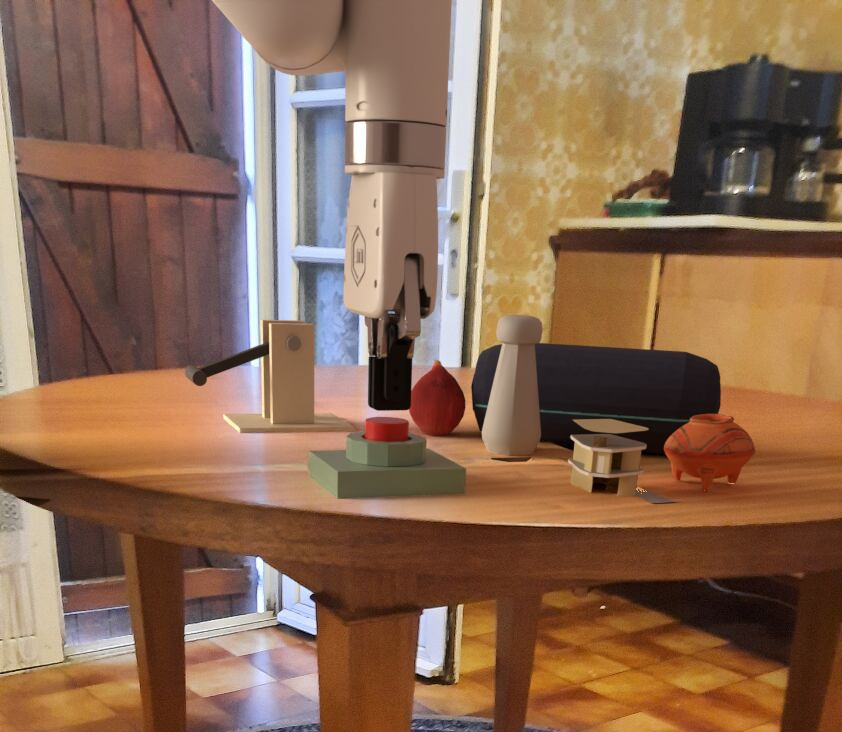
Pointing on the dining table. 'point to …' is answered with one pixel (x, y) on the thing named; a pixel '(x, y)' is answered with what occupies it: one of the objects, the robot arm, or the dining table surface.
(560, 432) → the portable speaker
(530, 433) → the salt shaker
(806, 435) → the dining table surface
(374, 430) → the button
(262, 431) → the wooden lever stand
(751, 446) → the pot
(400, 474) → the socket block
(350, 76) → the robot arm
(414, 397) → the onion
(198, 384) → the lever switch
